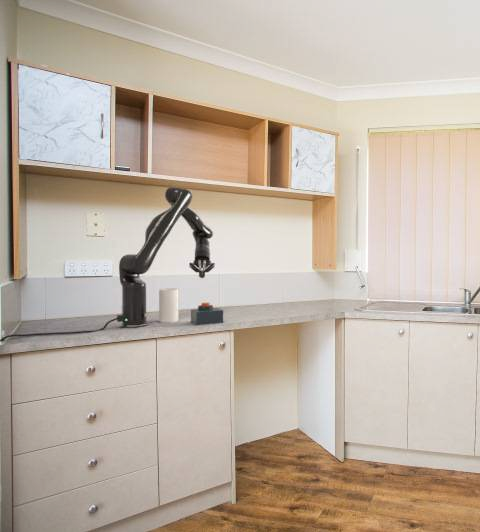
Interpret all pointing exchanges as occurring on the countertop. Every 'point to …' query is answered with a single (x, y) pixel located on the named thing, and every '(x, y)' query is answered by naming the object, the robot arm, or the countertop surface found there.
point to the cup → (168, 305)
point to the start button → (205, 304)
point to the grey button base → (206, 315)
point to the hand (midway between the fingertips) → (202, 277)
